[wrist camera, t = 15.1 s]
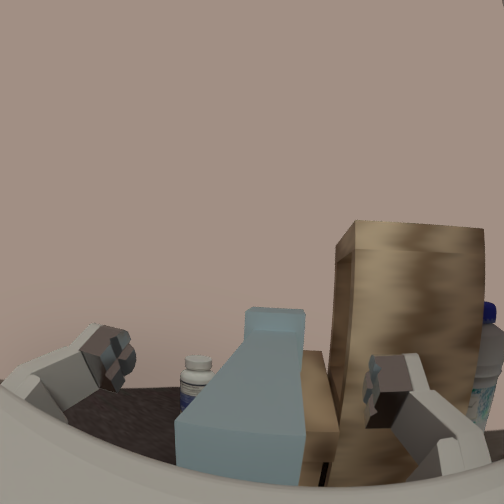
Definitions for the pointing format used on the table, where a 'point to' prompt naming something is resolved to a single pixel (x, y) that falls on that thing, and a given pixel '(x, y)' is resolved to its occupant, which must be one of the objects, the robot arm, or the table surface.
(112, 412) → the table surface
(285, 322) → the rail
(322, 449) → the bench
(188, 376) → the pill bottle
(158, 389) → the table surface
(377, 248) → the tall stand
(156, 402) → the table surface
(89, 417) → the table surface
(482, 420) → the bottle
